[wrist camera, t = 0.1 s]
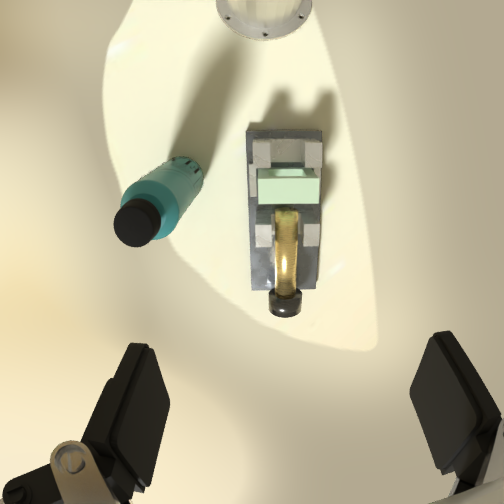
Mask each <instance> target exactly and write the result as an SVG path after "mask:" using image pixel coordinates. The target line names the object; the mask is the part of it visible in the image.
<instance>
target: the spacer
mask: <svg viewBox="0 0 504 504" xmlns="http://www.w3.org/2000/svg"><path fill="white" fill-rule="evenodd" d="M258 202H259V204H319V177H318V176H317V175H316V174H315V172H314V171H313V170H312V169H311V168H305V167H271V168H258Z"/></svg>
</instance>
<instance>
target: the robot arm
mask: <svg viewBox="0 0 504 504" xmlns="http://www.w3.org/2000/svg"><path fill="white" fill-rule="evenodd" d="M216 6H217V10H218V13H219V15H220V17H221V19H222V20H223V22H224V23H225V24H226V25H227V26H228V27H229V28H230V29H231V30H233V31H234V32H236V33H237V34H239V35H241V36H244V37H247V38H250V39H255V40H275V39H279V38H283V37H286V36H288V35H290V34H292V33H294V32H295V31H296V30H298V29H299V28H300V27H301V26H302V25H303V24H304V23H305V21H306V20H307V18H308V16H309V14H310V11H311V6H312V0H216ZM300 16H301V17H302V19H300V18H299V17H300ZM228 17H229V18H230V20H227V18H228ZM264 34H267V36H264ZM410 398H411V400H412V403H413V405H414V408H415V410H416V413H417V416H418V418H419V421H420V423H421V426H422V429H423V432H424V434H425V437H426V440H427V443H428V446H429V448H430V451H431V454H432V457H433V460H434V463H435V466H436V468H437V469H440V470H441V473H442V475H445V474H448V473H451V472H453V471H455V473H456V476H457V477H456V480H455V482H454V485H453V487H452V489H451V491H450V494H449V496H448V497H447V498H444V499H441V500H439V501H435V502H432V503H429V504H504V418H503V419H502V418H501V413H500V411H499V409H498V407H497V405H496V403H495V402H494V400H493V398H492V396H491V395H490V393H489V392H488V389H487V388H486V386H485V384H484V383H483V381H482V379H481V378H480V376H479V374H478V373H477V371H476V369H475V368H474V366H473V364H472V363H471V361H470V360H469V358H468V356H467V355H466V353H465V352H464V350H463V349H462V347H461V346H460V344H459V342H458V341H457V339H456V338H455V336H454V335H453V333H452V332H450V331H442V332H437V333H434V334H433V336H432V337H431V338H430V339H429V341H428V343H427V346H426V349H425V352H424V354H423V357H422V360H421V363H420V365H419V368H418V370H417V372H416V375H415V378H414V380H413V382H412V385H411V387H410ZM169 408H170V399H169V395H168V393H167V390H166V387H165V384H164V381H163V378H162V375H161V371H160V368H159V366H158V362H157V359H156V355H155V352H154V350H153V349H152V348H149V346H148V345H147V344H143V343H130V344H129V345H128V347H127V350H126V352H125V354H124V356H123V358H122V360H121V362H120V364H119V367H118V369H117V371H116V373H115V375H114V378H110V379H109V380H108V381H107V383H106V385H105V387H104V389H103V391H102V394H101V395H100V398H99V400H98V402H97V404H96V407H95V409H94V411H93V413H92V416H91V418H90V421H89V423H88V425H87V427H86V430H85V432H84V434H83V437H82V439H81V441H80V442H78V441H71V440H70V441H66V442H63V443H61V444H59V445H58V446H57V447H56V448H55V449H54V450H53V452H52V454H51V458H50V463H49V464H47V465H45V466H42V467H40V468H38V469H35V470H33V471H31V472H28V473H26V474H24V475H21V476H18V477H16V478H13V479H12V480H10V481H9V482H8V483H7V484H6V485H5V487H4V489H3V494H2V497H3V498H2V499H1V500H0V504H133V503H132V501H131V500H130V499H132V496H133V492H134V491H136V492H140V493H144V491H145V487H149V486H150V484H151V481H152V477H153V472H154V468H155V464H156V460H157V456H158V452H159V448H160V444H161V440H162V436H163V432H164V428H165V424H166V420H167V416H168V412H169Z"/></svg>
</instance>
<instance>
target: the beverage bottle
mask: <svg viewBox="0 0 504 504" xmlns="http://www.w3.org/2000/svg"><path fill="white" fill-rule="evenodd" d="M162 164H163V163H162ZM198 165H199V164H198V163H197V162H196V161H195V162H194V161H193V160H191V159H189V157H188V158H187V157H185V156H184V157H177V156H176V157H175V158H174V157H173V158H172V159H171V160H169V161H168V162H166V163H165V162H164V164H163V165H161V166H160V167H158V168H156V169H155V170H154V171H151V172H150V173H149V172H148V173H149V174H147V175H146V176H144V175H143V176H144V177H143V178H140V179H139V181H137V182H135V183H134V184H132V185H131V186H130V187H129V188H128V189H127V190H126V191H125V193H124V195H123V197H122V200H121V206H120V207H121V208H120V210H119V211H118V212H117V214H116V216H115V218H114V230H115V233H116V235H117V237H118V238H119V239H120V240H121V241H122V242H123V243H124V244H126V245H128V246H131V247H141V246H144V245H146V244H147V243H149V242H150V241H151V240H157V239H161V238H164V237H166V236H167V235H169V234H170V233H171V232H172V231H173V230H174V228H175V227H176V225H177V223H178V221H179V220H180V218H181V217H182V215H183V214H184V212H185V211H186V209H187V208H188V206H189V205H190V204H191V203H192V201H193V200H194V198H195V197H196V196H197V195H198V193H199V192H200V191H201V188H202V187H203V186H202V185H203V180H204V179H203V174H202V172H203V171H201V169H200V168H201V167H199V166H198Z"/></svg>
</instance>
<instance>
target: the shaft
mask: <svg viewBox="0 0 504 504" xmlns="http://www.w3.org/2000/svg"><path fill="white" fill-rule="evenodd" d="M297 247H298V210H297V209H295V208H291V207H282V208H277V209H276V210H275V287H274V288H272V289H271V290H270V292H269V311H270V312H271V313H272V314H273V315H275V316H278V317H283V318H288V317H293V316H295V315H297V314H299V313H300V311H301V303H302V292H301V291H300V290H299V289H298V288H296V277H297Z"/></svg>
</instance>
